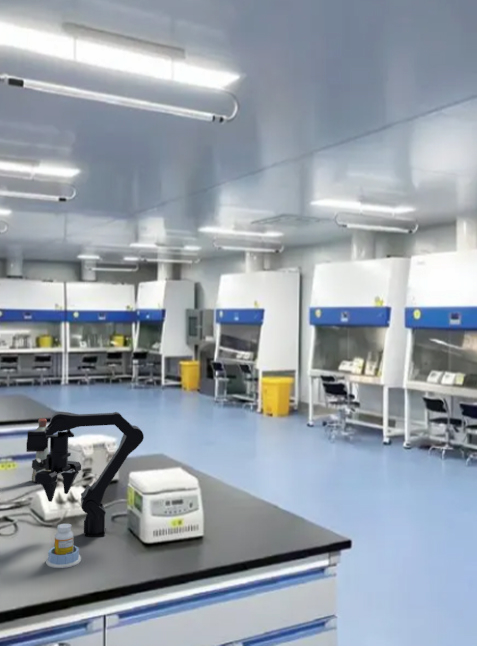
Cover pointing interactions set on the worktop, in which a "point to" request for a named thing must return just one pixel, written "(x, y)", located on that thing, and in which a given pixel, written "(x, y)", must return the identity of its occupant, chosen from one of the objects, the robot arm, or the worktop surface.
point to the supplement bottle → (64, 540)
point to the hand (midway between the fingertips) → (58, 497)
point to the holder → (63, 558)
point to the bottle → (43, 454)
